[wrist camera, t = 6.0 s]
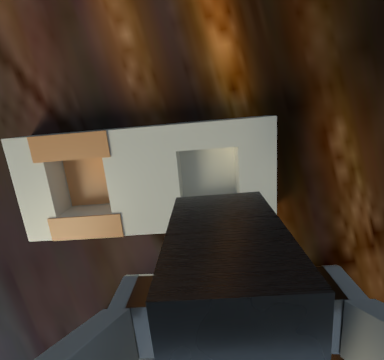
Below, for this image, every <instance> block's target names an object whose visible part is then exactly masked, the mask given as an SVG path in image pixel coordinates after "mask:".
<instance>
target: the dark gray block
mask: <svg viewBox="0 0 384 360" xmlns="http://www.w3.org/2000/svg"><path fill="white" fill-rule="evenodd" d="M145 303H146V310H147V316H148V322H149V328H150V334H151V340H152V347H153V353H154V359H155V360H331V348H332V333H333V318H334V303H335V292H334V291H333V289H332V288H331V287H330V285H329V284H328V283H327V281H326V280H325V279H324V277H323V276H322V275H321V273H320V272H319V271H318V269H317V268H316V267H315V265H314V264H313V263H312V261H311V260H310V259H309V257H308V256H307V255H306V253H305V252H304V251H303V249H302V248H301V247H300V245H299V244H298V243H297V241H296V240H295V239H294V237H293V236H292V234H291V233H290V232H289V230H288V229H287V228H286V226H285V225H284V224H283V222H282V221H281V220H280V218H279V217H278V216H277V214H276V213H275V212H274V210H273V209H272V208H271V206H270V205H269V204H268V202H267V201H266V200H265V198H264V197H263V196H262V194H261V193H260V192H259V191H258V192H244V193H231V194H217V195H204V196H190V197H177V198H176V200H175V203H174V207H173V210H172V214H171V217H170V220H169V224H168V227H167V231H166V234H165V237H164V241H163V244H162V247H161V251H160V254H159V258H158V261H157V264H156V268H155V271H154V275H153V278H152V281H151V285H150V288H149V292H148V295H147V298H146V302H145Z"/></svg>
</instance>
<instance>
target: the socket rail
mask: <svg viewBox="0 0 384 360" xmlns="http://www.w3.org/2000/svg"><path fill="white" fill-rule="evenodd" d="M1 141H2V145H3V149H4V152H5V156H6V160H7V163H8V167H9V171H10V174H11V178H12V182H13V185H14V189H15V192H16V196H17V200H18V203H19V207H20V211H21V214H22V218H23V222H24V225H25V229H26V232H27V236H28V240H29V242H32V241H48V240H52V241H63V240H79V239H95V238H111V237H124V236H128V235H144V234H160V233H166V231H167V227H168V224H169V220H170V217H171V214H172V210H173V207H174V203H175V200H176V198H177V197H190V196H204V195H217V194H231V193H244V192H258V191H259V192H260V193H261V194H262V196H263V197H264V198H265V200H266V201H267V202H268V204H269V205H270V206H271V208H272V209H273V210H274V212H275V213H276V214H277V116H254V117H242V118H230V119H218V120H207V121H195V122H183V123H172V124H160V125H148V126H136V127H125V128H113V129H101V130H90V131H78V132H66V133H54V134H43V135H31V136H23V137H15V138H7V139H1Z"/></svg>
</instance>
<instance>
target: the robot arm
mask: <svg viewBox="0 0 384 360" xmlns="http://www.w3.org/2000/svg"><path fill="white" fill-rule="evenodd" d="M316 268H317V269H318V271H319V272H320V273H321V275H322V276H323V277H324V279H325V280H326V281H327V283H328V284H329V285H330V287H331V288H332V289H333V291H334V292H335V303H334V318H333V333H332V348H331V354H340V356H341V357H342V358H343V359H344V360H384V303H382V302H380V301H378V300H376V299H369V298H368V297H367V296H366V295H365V293H364V292H363V291H362V290H361V289H360V288H359V287H358V286H357V285H356V283H355V282H354V281H353V280H352V279H351V278H350V277H349V276H348V275H347V273H346V272H345V271H344V270H343V269H342V268H341V267H340V266H338V265H328V266H320V267H316ZM153 275H154V274H140V275H139V274H137V275H125V276H124V277H123V279H122V281H121V283H120V285H119V287H118V289H117V291H116V293H115V295H114V297H113V299H112V301H111V303H110V305H109V307H108V309H103V310H101V311H100V312H98V313H97V314H96V315H94V316H93V317H92V318H90V319H89V320H88V321H86V322H85V323H83V324H82V325H81V326H79V327H78V328H77V329H75V330H74V331H72V332H71V333H70V334H68V335H67V336H66V337H64V338H63V339H61V340H60V341H59V342H57V343H56V344H55V345H53V346H52V347H50V348H49V349H48V350H46V351H45V352H44V353H42V354H41V355H39V356H38V357H37V358H35V359H34V360H139V359H145V358H154V353H153V347H152V340H151V334H150V328H149V322H148V316H147V310H146V303H145V302H146V298H147V295H148V292H149V288H150V285H151V281H152V278H153Z"/></svg>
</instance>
